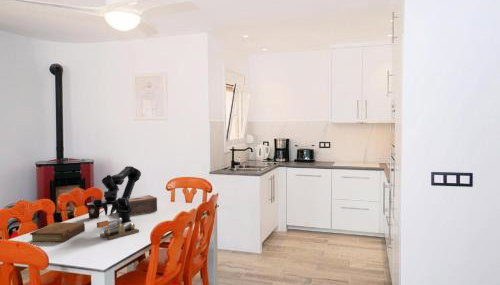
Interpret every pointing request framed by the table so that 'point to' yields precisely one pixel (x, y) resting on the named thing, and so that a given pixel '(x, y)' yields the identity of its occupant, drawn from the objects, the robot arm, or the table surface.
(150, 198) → the tissue box cover
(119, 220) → the valve lever
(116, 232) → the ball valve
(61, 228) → the diary
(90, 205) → the coffee mug
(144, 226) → the table surface
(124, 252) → the table surface
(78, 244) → the table surface
